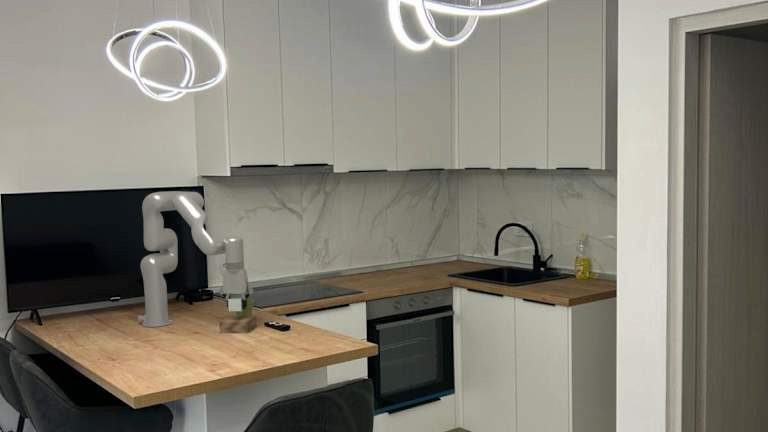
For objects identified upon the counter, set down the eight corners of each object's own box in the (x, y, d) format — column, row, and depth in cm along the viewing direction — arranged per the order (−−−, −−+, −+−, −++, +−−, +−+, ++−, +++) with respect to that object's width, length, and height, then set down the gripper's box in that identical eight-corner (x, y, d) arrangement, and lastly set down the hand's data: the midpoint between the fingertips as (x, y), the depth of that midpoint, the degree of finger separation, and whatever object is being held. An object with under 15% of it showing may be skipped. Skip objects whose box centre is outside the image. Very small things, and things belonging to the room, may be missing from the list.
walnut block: (219, 334, 304) (219, 322, 304) (229, 328, 316) (229, 316, 316) (247, 334, 303) (247, 322, 303) (256, 327, 315) (255, 316, 314)
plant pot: (243, 323, 323) (242, 304, 323) (229, 321, 329) (228, 302, 328) (259, 319, 331) (258, 300, 330) (245, 317, 336) (244, 299, 336)
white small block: (228, 311, 307) (228, 299, 306) (233, 308, 312) (232, 297, 312) (241, 311, 306) (240, 299, 306) (245, 308, 311) (244, 297, 311)
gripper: (212, 267, 305) (214, 310, 306) (252, 267, 303) (254, 310, 304) (218, 265, 313) (220, 307, 314) (257, 264, 310) (259, 307, 312)
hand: (237, 308), depth 309 cm, fingers closed on white small block, 5 cm apart
